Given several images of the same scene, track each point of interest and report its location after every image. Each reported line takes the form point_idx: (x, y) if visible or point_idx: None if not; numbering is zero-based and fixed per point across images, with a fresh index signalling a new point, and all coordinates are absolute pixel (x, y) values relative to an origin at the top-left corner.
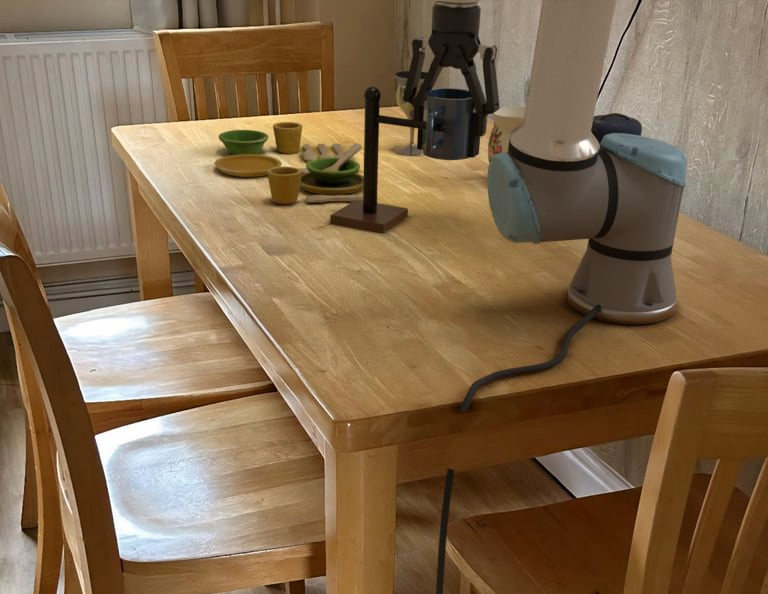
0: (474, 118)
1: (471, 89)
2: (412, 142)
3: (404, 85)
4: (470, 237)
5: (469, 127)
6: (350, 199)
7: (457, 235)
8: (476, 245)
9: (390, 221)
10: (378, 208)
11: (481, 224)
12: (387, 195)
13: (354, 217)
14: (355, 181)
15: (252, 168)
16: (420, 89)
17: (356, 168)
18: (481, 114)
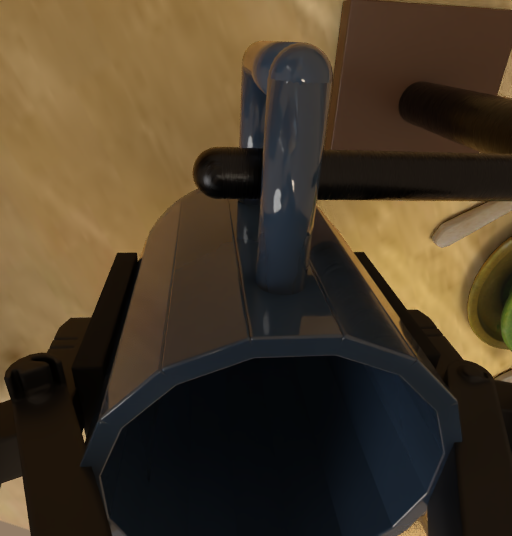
0: (83, 359)
1: (77, 532)
2: (422, 519)
3: None
4: (107, 97)
5: (121, 322)
6: (482, 206)
7: (147, 95)
8: (56, 32)
9: (342, 54)
10: (400, 141)
11: (133, 213)
12: (405, 291)
13: (450, 23)
14: (489, 317)
15: None
16: (503, 449)
17: (510, 311)
18: (9, 368)
